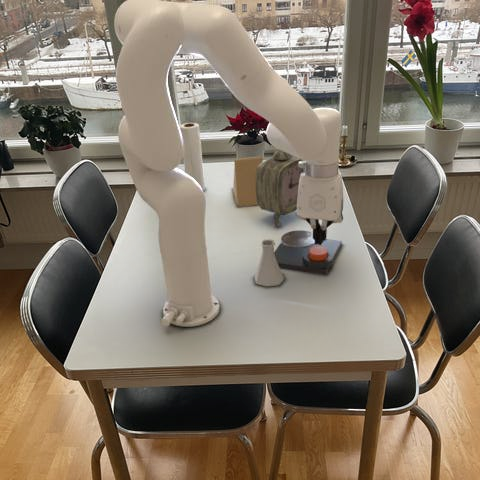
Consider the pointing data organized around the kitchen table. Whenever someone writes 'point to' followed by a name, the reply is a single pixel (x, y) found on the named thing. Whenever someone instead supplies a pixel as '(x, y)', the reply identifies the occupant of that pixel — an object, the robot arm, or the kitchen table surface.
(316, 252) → the scale button
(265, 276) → the flask
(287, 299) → the kitchen table surface
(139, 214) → the kitchen table surface
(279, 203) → the tabletop clock
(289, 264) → the scale
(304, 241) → the weighing pan
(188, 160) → the paper towel roll
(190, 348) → the kitchen table surface
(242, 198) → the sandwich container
